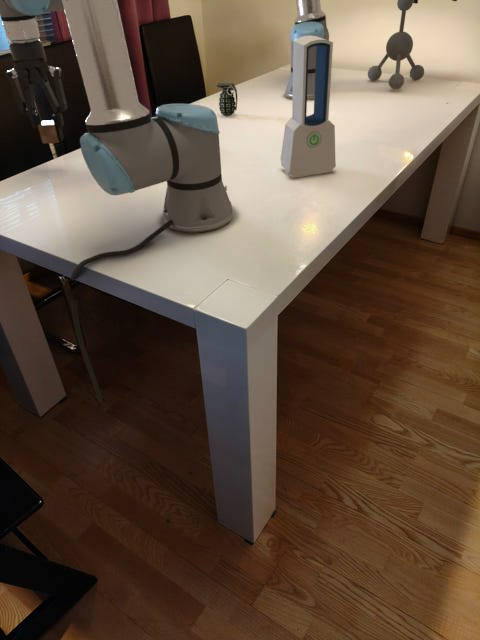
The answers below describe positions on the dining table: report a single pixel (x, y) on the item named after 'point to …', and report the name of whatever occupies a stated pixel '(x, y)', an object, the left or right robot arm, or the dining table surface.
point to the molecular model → (398, 53)
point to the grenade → (227, 99)
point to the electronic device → (315, 130)
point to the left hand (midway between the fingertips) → (52, 139)
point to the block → (48, 132)
